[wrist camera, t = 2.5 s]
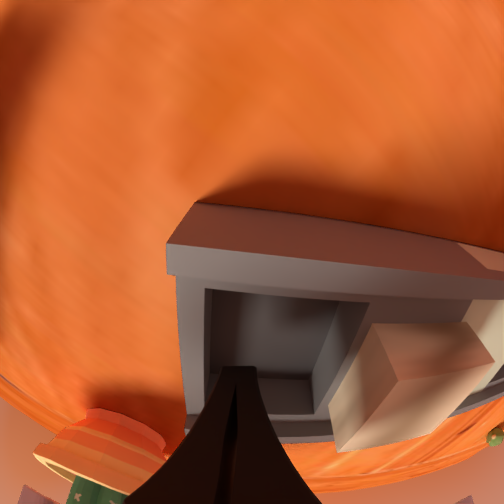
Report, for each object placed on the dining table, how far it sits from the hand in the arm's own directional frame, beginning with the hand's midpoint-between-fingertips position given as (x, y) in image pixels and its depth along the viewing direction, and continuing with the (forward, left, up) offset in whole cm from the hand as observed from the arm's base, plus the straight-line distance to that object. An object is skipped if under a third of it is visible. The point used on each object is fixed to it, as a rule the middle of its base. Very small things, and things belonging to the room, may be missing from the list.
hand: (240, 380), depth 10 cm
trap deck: (-13, 0, -4) cm, 14 cm away
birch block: (-8, 0, -1) cm, 8 cm away
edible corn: (-66, +39, -4) cm, 77 cm away
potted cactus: (+11, +18, -4) cm, 21 cm away
